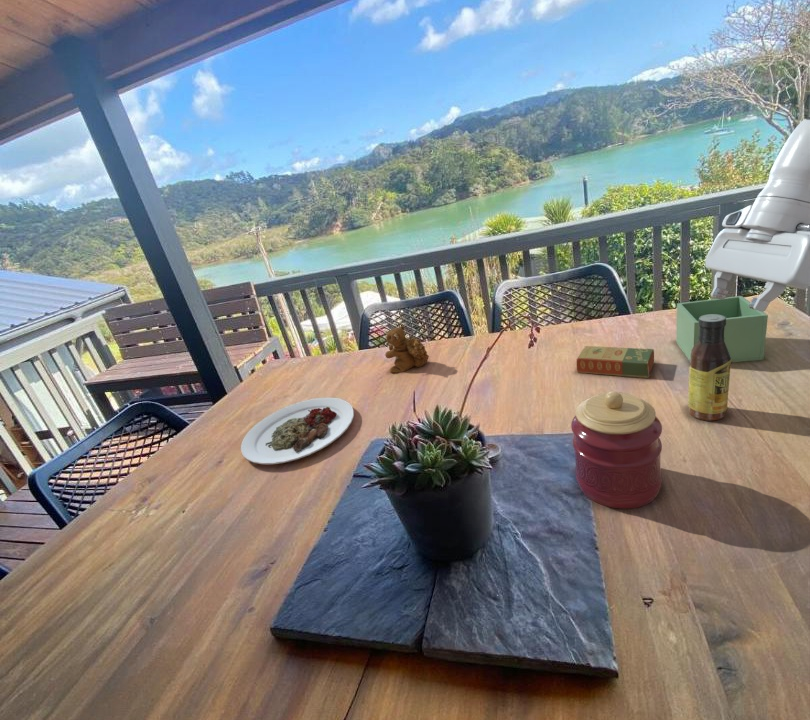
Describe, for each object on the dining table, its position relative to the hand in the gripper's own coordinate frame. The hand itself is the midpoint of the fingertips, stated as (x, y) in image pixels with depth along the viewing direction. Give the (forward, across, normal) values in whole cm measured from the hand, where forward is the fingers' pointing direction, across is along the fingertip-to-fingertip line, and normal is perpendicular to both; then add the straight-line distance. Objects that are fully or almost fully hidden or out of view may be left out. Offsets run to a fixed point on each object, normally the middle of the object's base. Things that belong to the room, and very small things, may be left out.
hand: (735, 303), depth 75 cm
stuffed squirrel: (+45, +55, +45) cm, 84 cm away
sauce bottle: (+21, +3, -8) cm, 23 cm away
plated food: (+61, +28, +71) cm, 98 cm away
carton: (+23, +27, -1) cm, 36 cm away
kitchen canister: (+33, -11, +13) cm, 37 cm away
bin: (+12, +26, -22) cm, 36 cm away
